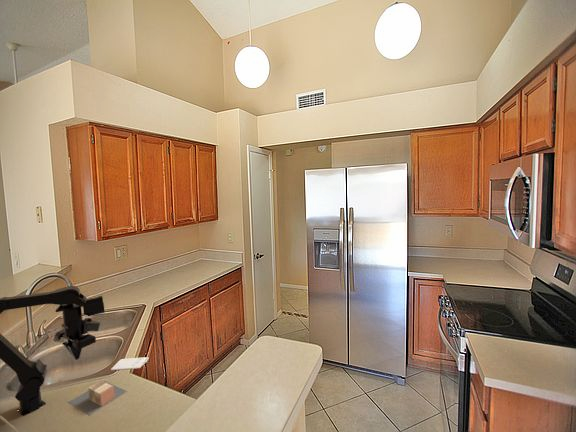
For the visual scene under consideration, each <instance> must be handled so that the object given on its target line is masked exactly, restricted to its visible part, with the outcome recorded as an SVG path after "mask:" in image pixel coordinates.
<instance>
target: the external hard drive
mask: <svg viewBox="0 0 576 432" xmlns="http://www.w3.org/2000/svg"><path fill="white" fill-rule="evenodd" d="M148 360H149V356H148V357H147V356H146V357H132V358H131V357H129V358H122V359H119V361H117V363H115V365H113V367H111V369H110V371H121V370H122V371H124V370H133V369H135V370H136V369H141V367H142V366H144V364H146V363H147V361H148Z"/></svg>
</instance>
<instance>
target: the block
mask: <svg viewBox="0 0 576 432" xmlns="http://www.w3.org/2000/svg"><path fill="white" fill-rule="evenodd" d="M108 383H109V382H108ZM108 383H105V382H104V381H103V380H99V381H98V382H97V383H95V384H93V385H91V386H89V387H88V391H89V398H90V400H91V401H93V402H95V403H97V404H99V405H100V406H103V405H104V404H106V403H108V402H109V401H111V400H112V399H114V398H115V396H114V386H112V385H110V384H108ZM108 404H109V403H108Z"/></svg>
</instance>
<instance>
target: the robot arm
mask: <svg viewBox="0 0 576 432" xmlns="http://www.w3.org/2000/svg"><path fill="white" fill-rule="evenodd" d="M43 305H57V306H58V307H56V309H55V313H61V312H62V318H63V323H62V324H61V328H63V329H62V330H59V331H56V332H55V334H54V340H55V341H57V342H60V341H61V339H62V338H63V341H64V342H62V343H61V344H62V346H64V348H65V349H66V350H67V352H69V353H70V356H72V357H73V359H74V360H75V361H77V360H79V359H80V357H81V354H82V350H83V348H86V347H88V346H90V345H92V344H93V345H94V344H95V343H96V342H97V339H96V338H97V337H96V336H95V335H92V334H89V333H88V332H98V331H99V329H100V325H101V321H96V320H92V318H90V317H92V316H96V315H101V314H105V302H104V297H103V295H99V296H96V297H92V298H87V297H86V296H85V295H84V294H82V293H81V290H80V288H79V287H77V286H76V285H67V286H64V287H62V288H58V289H55V290H51V291H47V292H38V293H31V294H23V295H15V296H3V297H0V315H1V314H2V313H3V312H5V311H8V310H15V309H22V308H30V307H36V306H43ZM82 309H83V313H82ZM84 315H85V317H86V316H87V317H86V318H84V319H83V316H84ZM0 360H1V361H2V362H3V363H5V364H6V365H7V366H8V367H9V368H10V369H11V370H13V372H14V373H15V374H16V376H17V379H18V382H19V383H20V385H19V387H18V388H17V391H16V394H15V396H14V398H15V400H17V401H18V403H19V408H20V409H19V408H18V409H19V411H18V412H19V413H18V412H17V413H18V414H20V415H21V416H22V417H24V416H27V415H29V414H31V413H33V412H34V411H35V410H38V409H40V408H41V407H43V406H45V405H46V404H47V402H45V401H44V400H42V392H41V387H42V386H43V385H44V382H45V380H46V377H47V373H48V368H47V366H48V365H47V364H44V363H43V361H42V360H41V359H37V360H36V361H33V360H30V359H28V358H27V356H25V354H23V353H22V352H21V351H20V350H19V349H18V348H16V346H15V345H14V344H13V343H12V342H10V341H9V340H8V339H7V338H6V336H4V335H3V334H1V332H0Z"/></svg>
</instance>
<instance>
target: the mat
mask: <svg viewBox="0 0 576 432" xmlns="http://www.w3.org/2000/svg"><path fill="white" fill-rule="evenodd" d="M103 382H105V383H108V384H110V385H112V386H114V396H115V398H114V399H112V400H111V401H109V402H108V403H106V404H104V405H103V406H100V405H99V404H97V403H95V402H93V401H91V400H90V398H89V390H87V391H85V392H83V393H82V394H80V395H78V396H76V397H74V398H73V399H71V400H69V401H67V403H68V404H69V405H71V406H73V407H75V408H76V409H78V410H79V411H81V412H83V413H85V414H86V415H88V416H91V415H93V414H94V413H96V412H97V411H99V410H101V409H102V408H104V407H105V406H107V405H108V404H110V403H112V402H113V401H114V400H116V399H118V398H119V397H121V396H122V395H124V394H126V393H127V392H128V390H125V389H123V388H121V387H119V386H117V385H115V384H113V383H110V382H108V381H106V380H104V381H103Z"/></svg>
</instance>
